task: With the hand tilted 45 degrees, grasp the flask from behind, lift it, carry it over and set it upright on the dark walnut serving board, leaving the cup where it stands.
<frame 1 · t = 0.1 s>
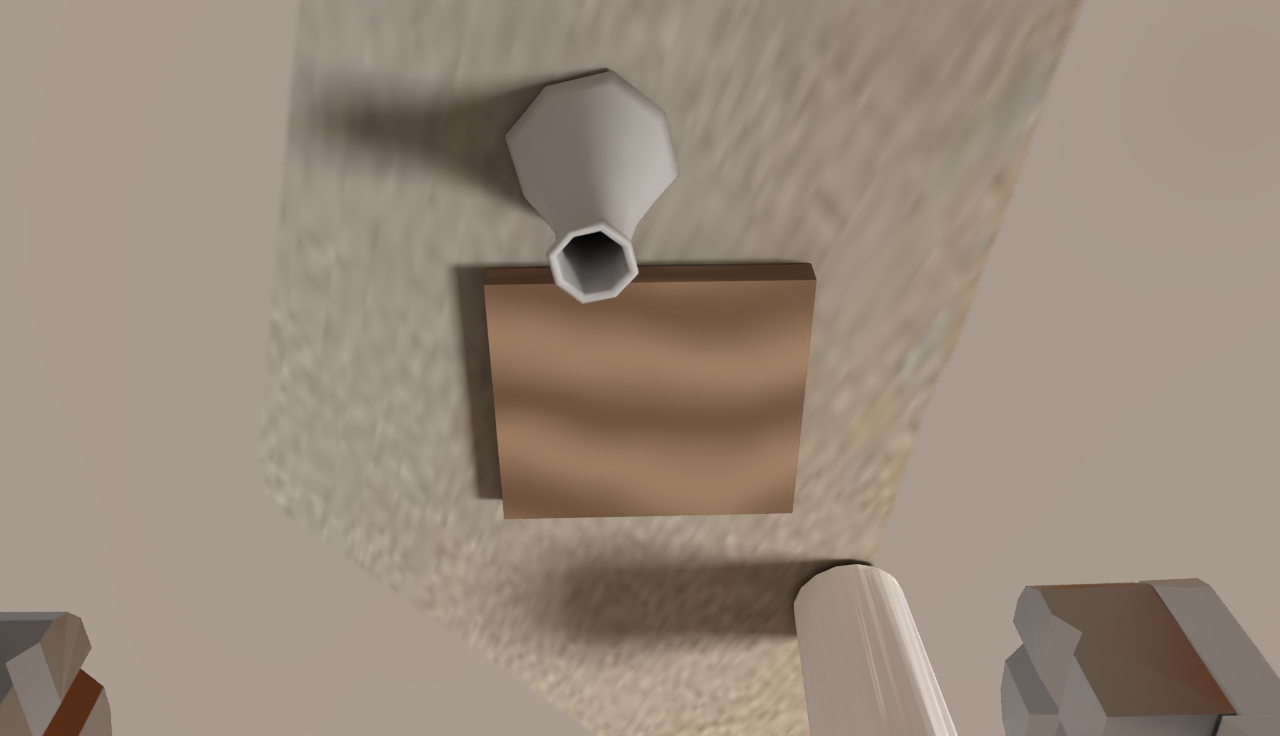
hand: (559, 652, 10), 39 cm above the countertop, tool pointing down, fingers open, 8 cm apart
cup: (846, 596, 65), on the countertop
walnut board: (648, 389, 56), on the countertop
flask: (592, 150, 49), on the countertop
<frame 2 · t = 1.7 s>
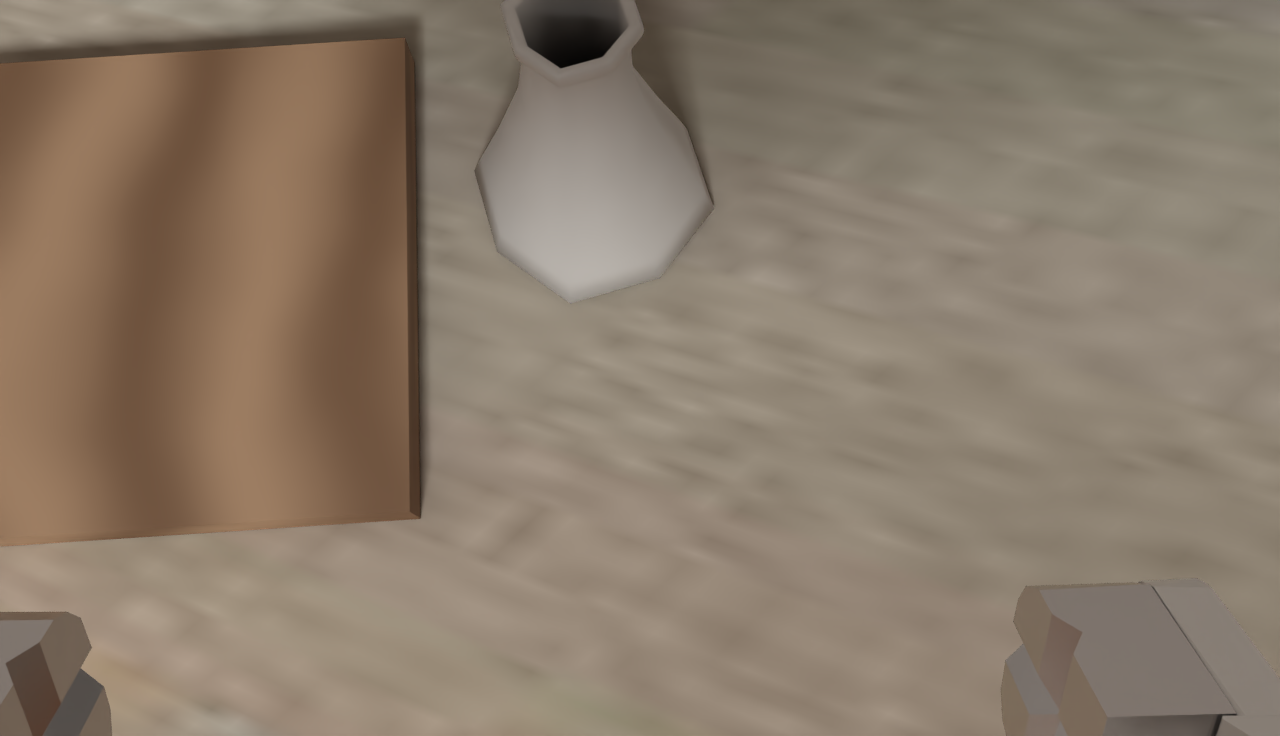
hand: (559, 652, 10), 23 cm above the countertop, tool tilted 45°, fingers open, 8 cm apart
walnut board: (191, 292, 35), on the countertop
flask: (594, 195, 36), on the countertop
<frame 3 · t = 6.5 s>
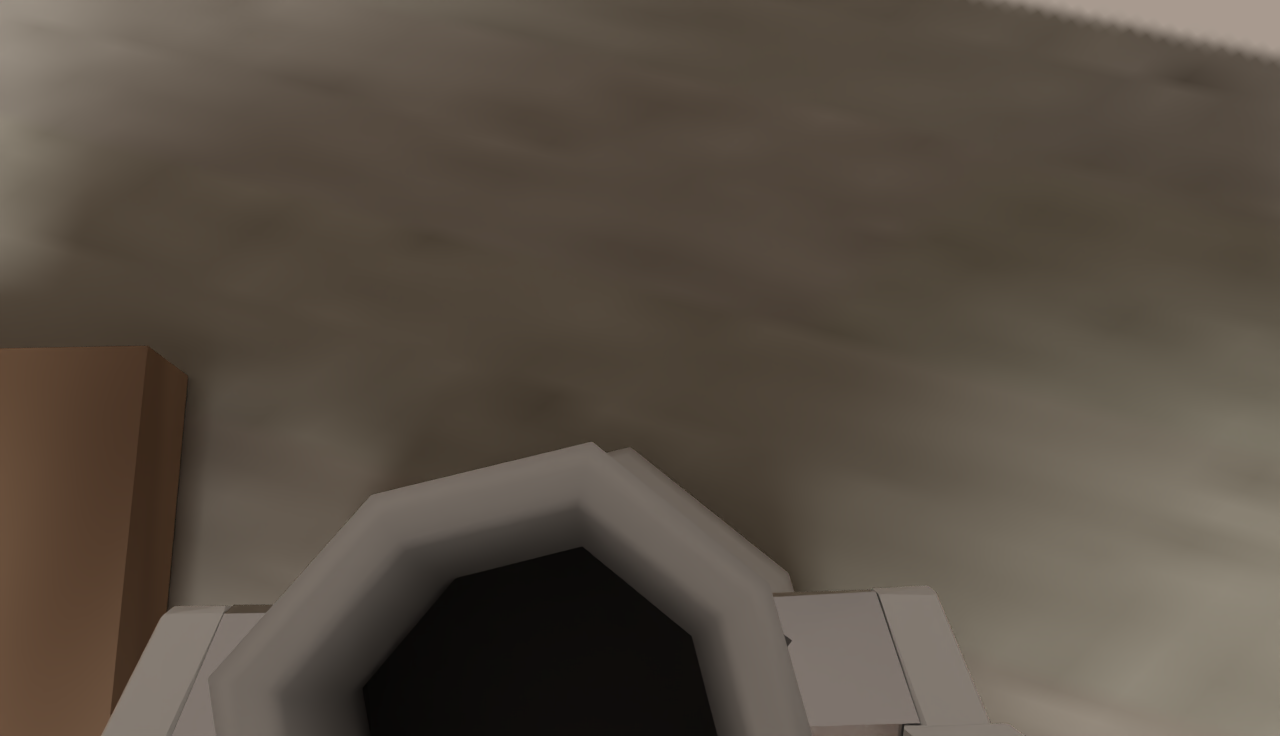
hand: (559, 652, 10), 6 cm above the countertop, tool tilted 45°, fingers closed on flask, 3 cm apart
flask: (570, 718, 16), on the countertop, touching gripper
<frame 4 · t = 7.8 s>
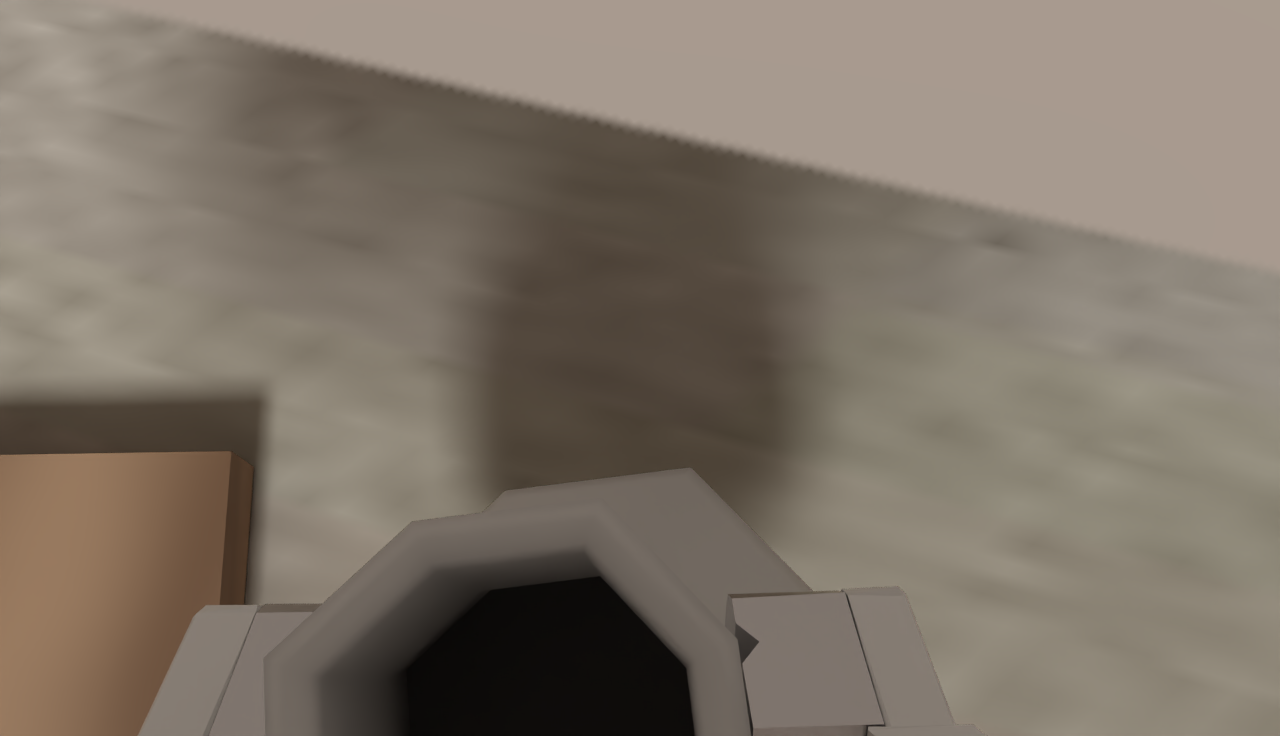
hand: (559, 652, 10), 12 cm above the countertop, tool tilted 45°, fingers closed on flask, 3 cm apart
flask: (606, 713, 17), point 5 cm above the countertop, touching gripper
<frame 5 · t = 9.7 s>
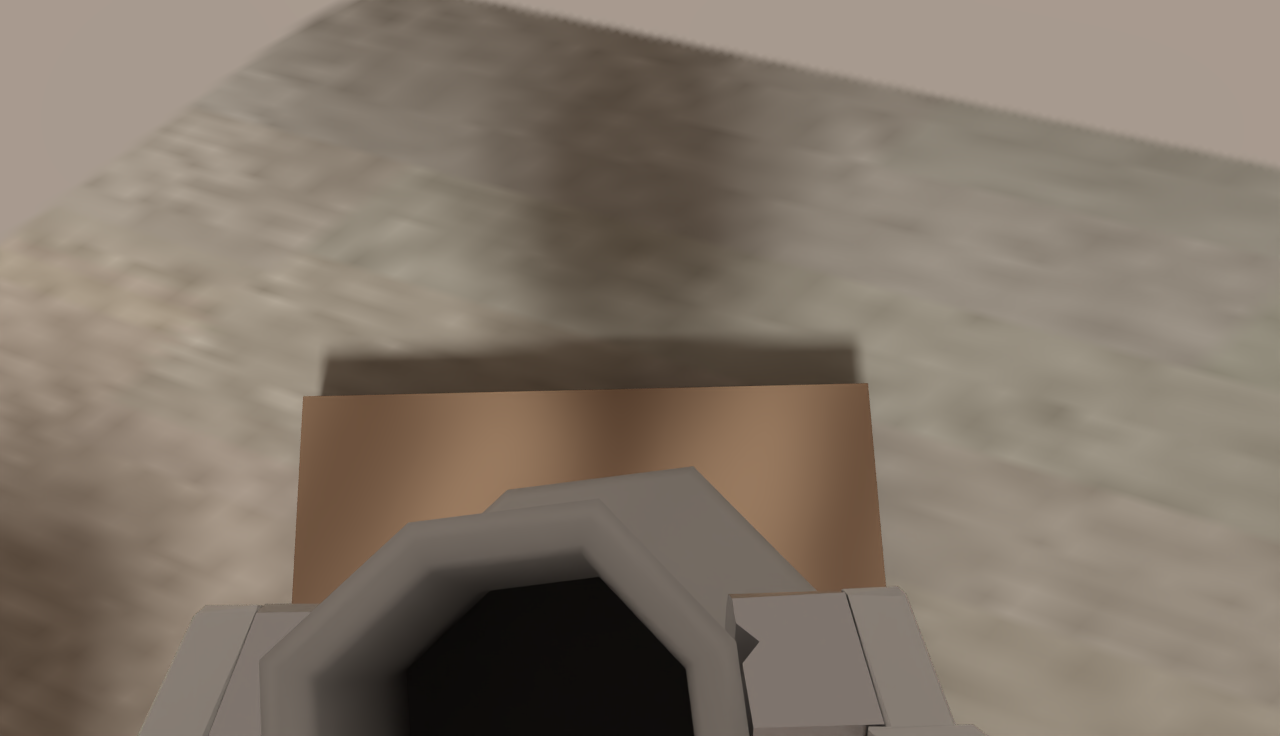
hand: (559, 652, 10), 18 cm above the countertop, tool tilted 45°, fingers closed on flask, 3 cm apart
walnut board: (594, 704, 27), on the countertop
flask: (609, 712, 17), point 11 cm above the countertop, touching gripper
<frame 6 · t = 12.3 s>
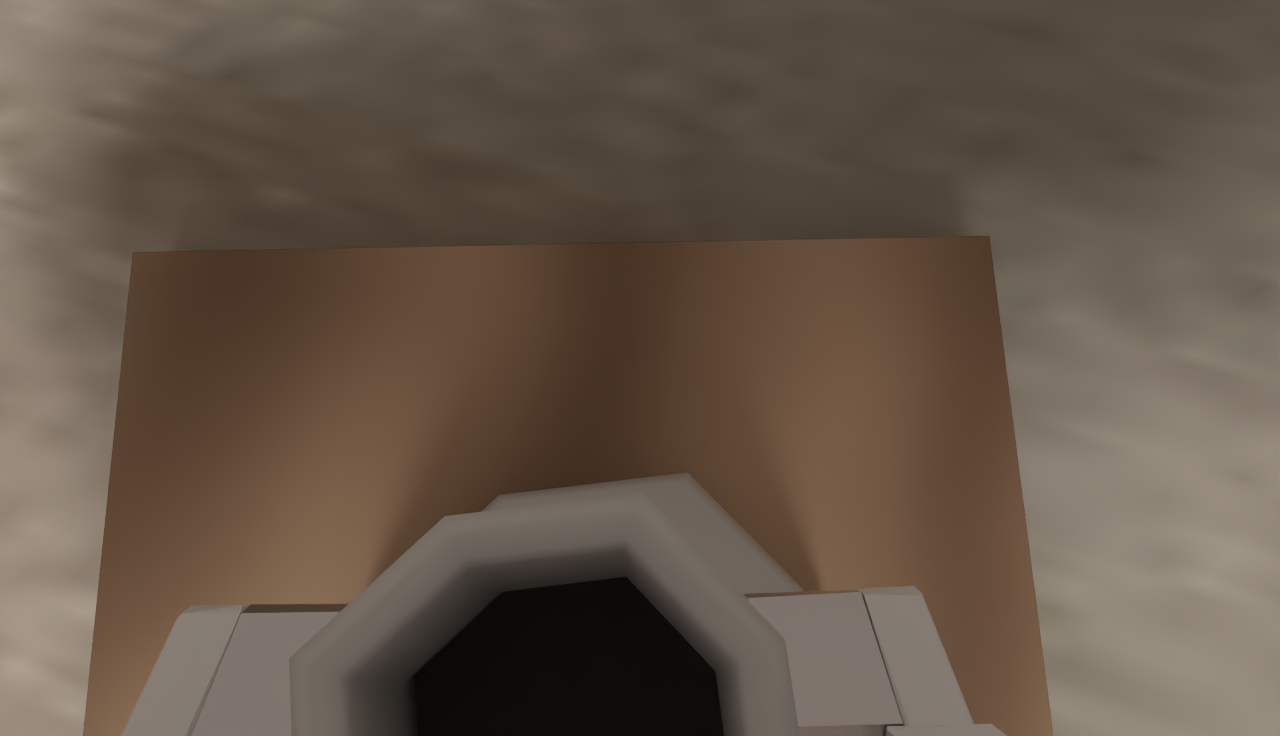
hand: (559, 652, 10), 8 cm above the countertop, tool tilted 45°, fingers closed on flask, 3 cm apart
walnut board: (576, 722, 18), on the countertop
flask: (601, 722, 16), point 1 cm above the countertop, touching gripper, walnut board
when the fingers open (8 cm above the countertop, at t = 12.3 s): flask stays where it is, resting on walnut board.
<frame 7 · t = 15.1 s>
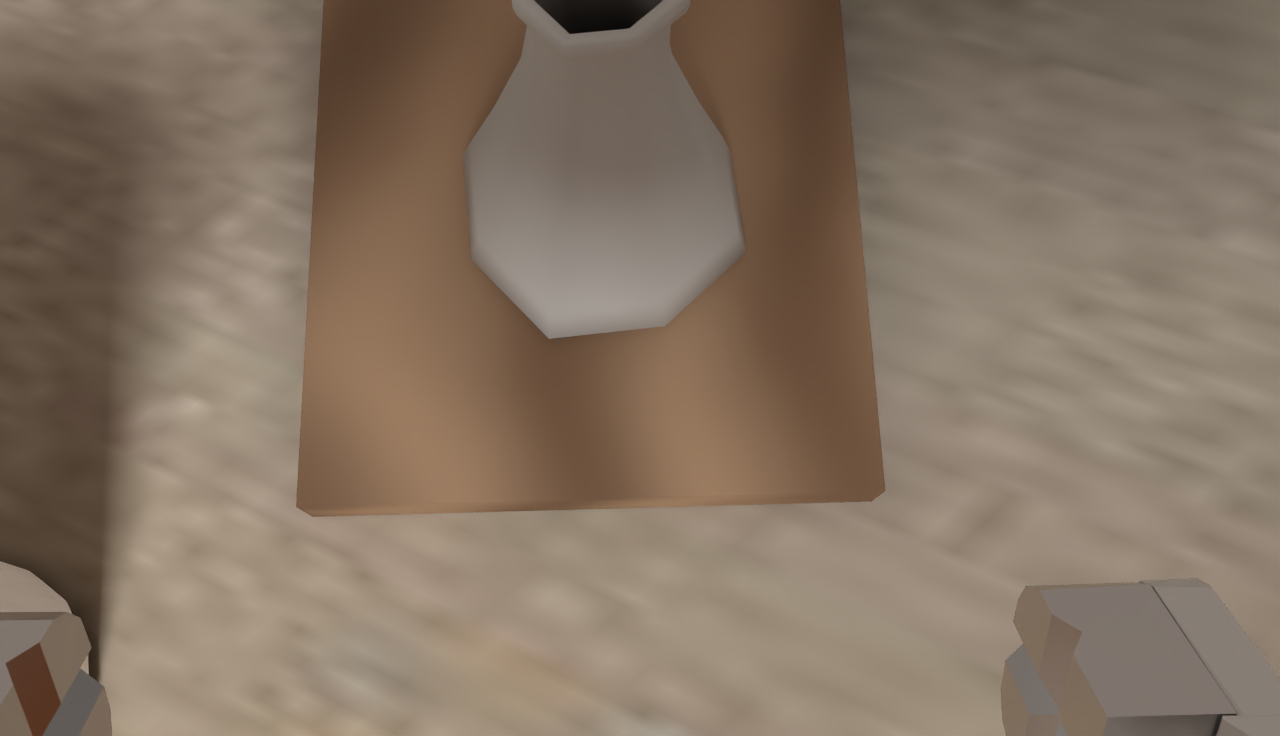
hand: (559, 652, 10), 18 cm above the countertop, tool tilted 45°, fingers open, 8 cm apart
walnut board: (588, 231, 30), on the countertop
flask: (603, 211, 29), point 1 cm above the countertop, touching walnut board
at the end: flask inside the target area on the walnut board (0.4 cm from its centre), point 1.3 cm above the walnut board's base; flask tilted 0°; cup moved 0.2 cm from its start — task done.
